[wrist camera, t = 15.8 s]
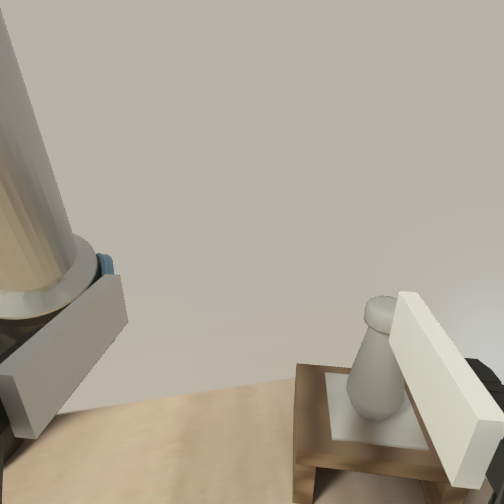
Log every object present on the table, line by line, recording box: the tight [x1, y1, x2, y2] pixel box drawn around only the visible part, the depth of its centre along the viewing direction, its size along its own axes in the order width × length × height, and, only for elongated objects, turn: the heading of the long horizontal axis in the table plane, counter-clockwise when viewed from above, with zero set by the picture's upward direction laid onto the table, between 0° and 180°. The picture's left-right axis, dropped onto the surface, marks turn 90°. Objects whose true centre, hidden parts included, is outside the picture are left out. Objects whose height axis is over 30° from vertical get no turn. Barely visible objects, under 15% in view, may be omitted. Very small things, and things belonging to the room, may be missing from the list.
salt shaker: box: [346, 296, 404, 422], centre depth 33 cm, size 6×6×13 cm
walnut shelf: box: [293, 363, 469, 504], centre depth 37 cm, size 16×12×8 cm
